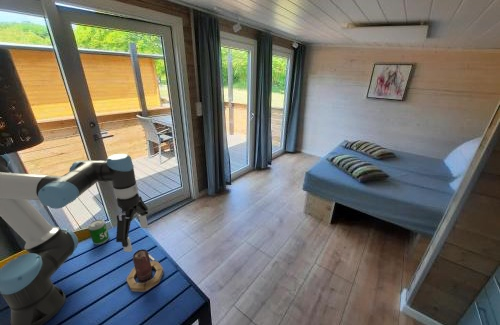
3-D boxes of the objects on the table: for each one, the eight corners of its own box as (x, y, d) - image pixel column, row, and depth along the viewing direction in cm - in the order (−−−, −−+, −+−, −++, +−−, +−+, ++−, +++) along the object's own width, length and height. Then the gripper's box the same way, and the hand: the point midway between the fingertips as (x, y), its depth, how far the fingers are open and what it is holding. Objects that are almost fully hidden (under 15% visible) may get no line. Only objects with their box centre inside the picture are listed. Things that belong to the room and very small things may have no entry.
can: (147, 284, 93) (142, 261, 88) (135, 281, 94) (128, 258, 89) (156, 272, 99) (151, 250, 93) (143, 270, 100) (138, 247, 94)
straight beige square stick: (154, 260, 105) (154, 259, 105) (153, 261, 105) (153, 260, 104) (143, 250, 110) (143, 249, 110) (142, 251, 110) (142, 250, 110)
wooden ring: (122, 291, 90) (121, 288, 89) (137, 264, 103) (137, 260, 102) (155, 291, 90) (154, 288, 89) (166, 264, 103) (166, 261, 102)
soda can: (97, 247, 111) (91, 229, 107) (90, 241, 115) (84, 224, 110) (112, 239, 117) (107, 221, 113) (105, 233, 121) (100, 216, 116)
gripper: (118, 215, 68) (130, 263, 76) (151, 179, 91) (158, 219, 99) (95, 214, 68) (109, 263, 76) (133, 178, 91) (141, 219, 99)
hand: (137, 238), depth 88 cm, fingers open, 13 cm apart
